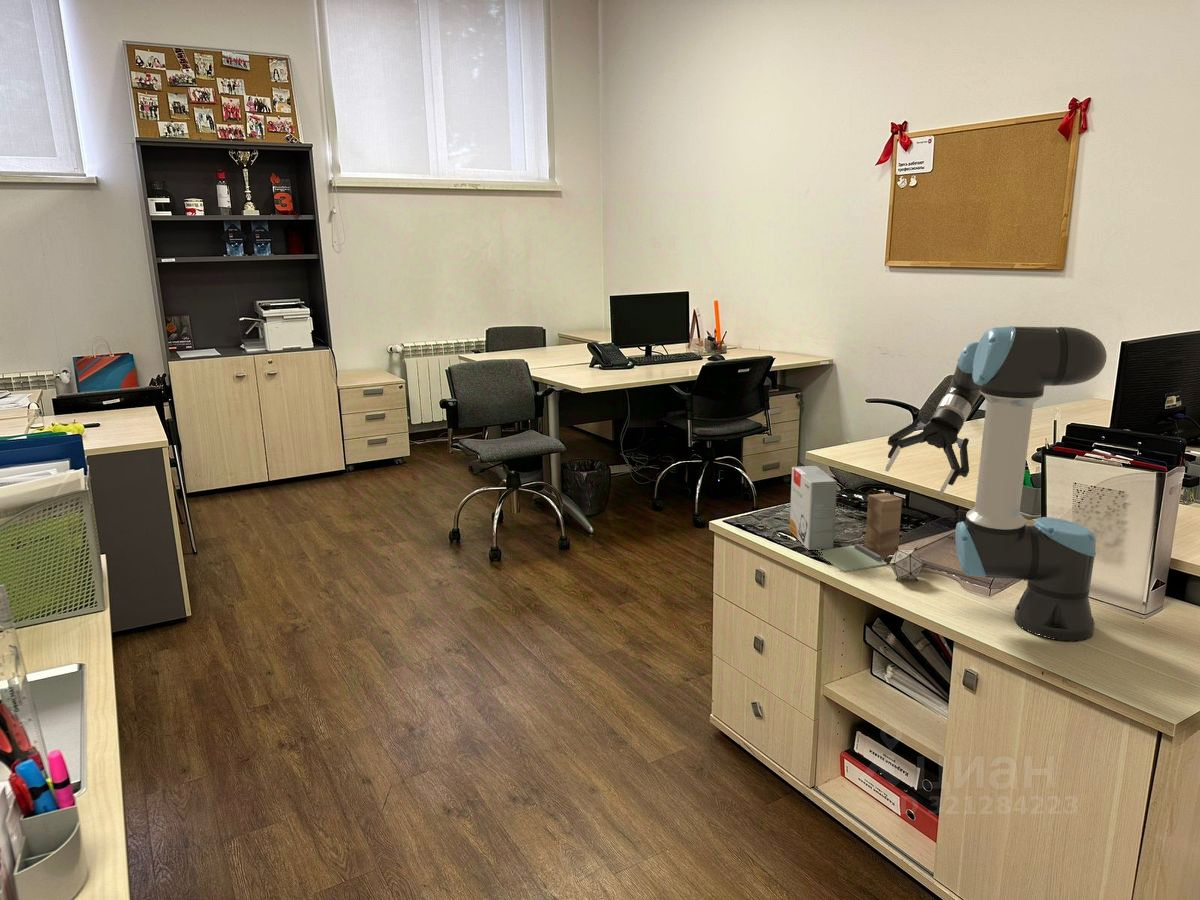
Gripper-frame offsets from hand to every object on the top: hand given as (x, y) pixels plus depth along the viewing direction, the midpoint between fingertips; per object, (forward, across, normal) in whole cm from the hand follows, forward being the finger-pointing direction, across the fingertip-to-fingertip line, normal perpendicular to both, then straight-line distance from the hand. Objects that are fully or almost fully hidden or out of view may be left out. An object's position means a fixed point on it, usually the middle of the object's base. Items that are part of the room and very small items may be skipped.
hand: (913, 480), depth 198 cm
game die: (+18, -8, -15) cm, 25 cm away
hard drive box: (+13, +19, -32) cm, 39 cm away
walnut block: (+9, +1, -27) cm, 28 cm away
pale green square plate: (+16, +7, -23) cm, 29 cm away
